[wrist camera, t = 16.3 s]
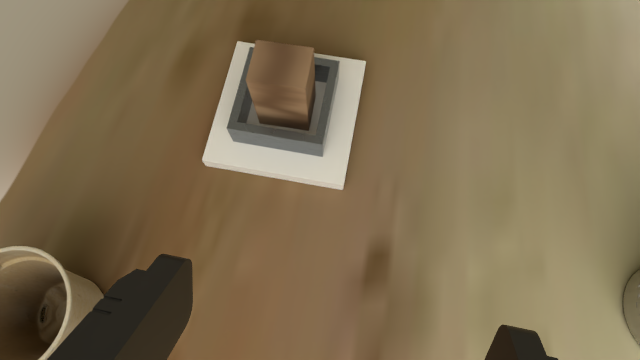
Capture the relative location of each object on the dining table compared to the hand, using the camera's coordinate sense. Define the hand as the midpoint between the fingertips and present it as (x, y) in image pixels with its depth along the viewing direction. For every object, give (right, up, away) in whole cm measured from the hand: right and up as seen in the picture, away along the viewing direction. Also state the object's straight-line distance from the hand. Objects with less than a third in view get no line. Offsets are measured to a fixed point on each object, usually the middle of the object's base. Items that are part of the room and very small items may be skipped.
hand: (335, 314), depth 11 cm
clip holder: (-4, +10, +33) cm, 35 cm away
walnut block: (-4, +11, +32) cm, 34 cm away
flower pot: (-23, -9, +27) cm, 37 cm away
